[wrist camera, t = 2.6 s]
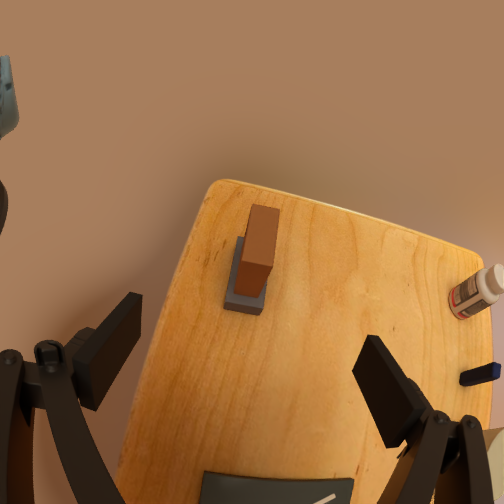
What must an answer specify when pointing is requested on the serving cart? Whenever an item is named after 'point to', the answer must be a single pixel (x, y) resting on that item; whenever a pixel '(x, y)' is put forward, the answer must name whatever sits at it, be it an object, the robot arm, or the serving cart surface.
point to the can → (495, 459)
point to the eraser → (480, 374)
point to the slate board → (273, 490)
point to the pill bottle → (477, 292)
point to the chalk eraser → (253, 261)
